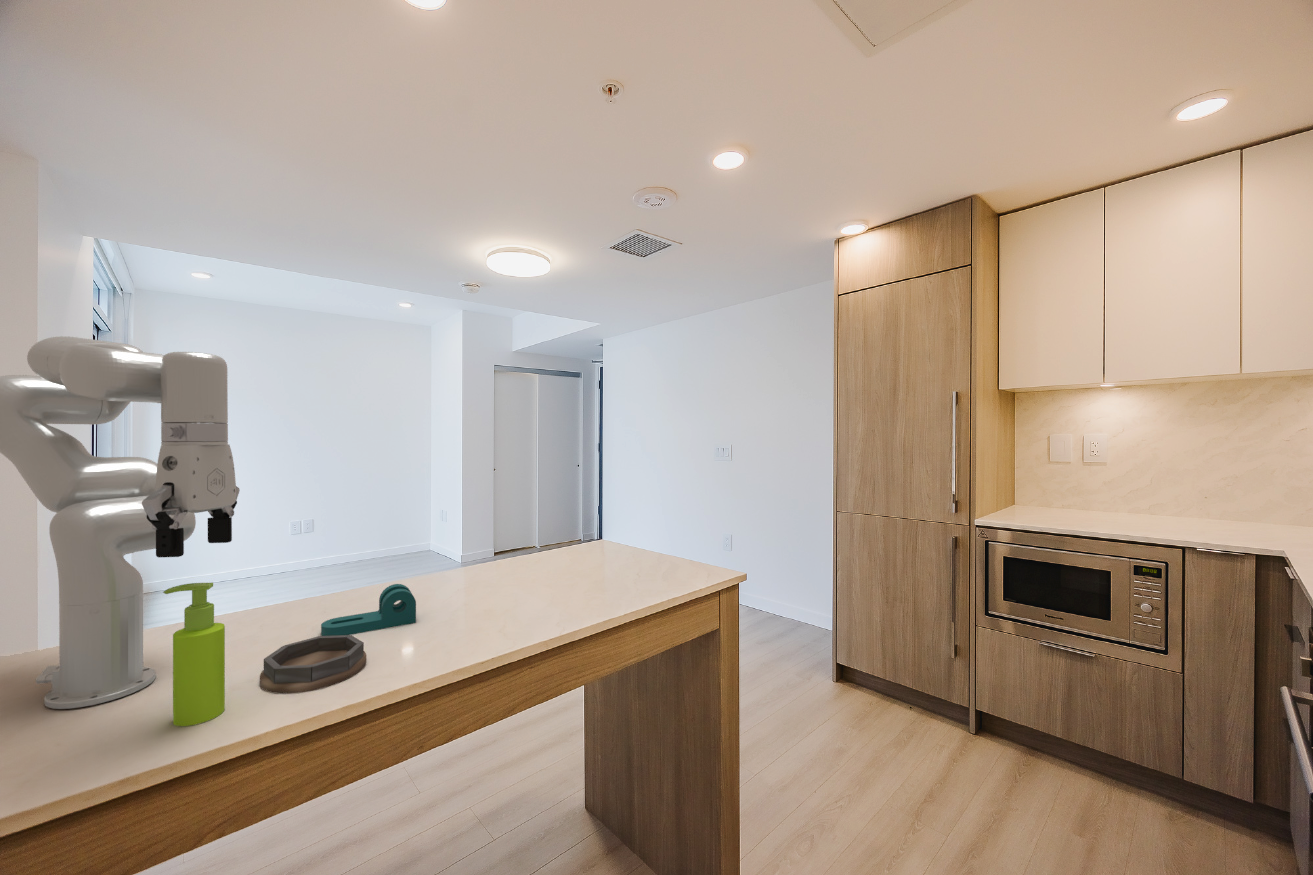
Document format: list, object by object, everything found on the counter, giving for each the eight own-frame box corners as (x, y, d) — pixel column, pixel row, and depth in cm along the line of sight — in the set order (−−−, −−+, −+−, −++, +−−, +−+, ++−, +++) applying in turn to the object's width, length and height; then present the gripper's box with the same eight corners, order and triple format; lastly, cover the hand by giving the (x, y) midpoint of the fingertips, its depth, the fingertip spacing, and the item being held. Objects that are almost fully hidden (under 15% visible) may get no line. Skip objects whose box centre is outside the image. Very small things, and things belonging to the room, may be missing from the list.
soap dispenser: (174, 711, 80) (174, 581, 80) (230, 702, 83) (230, 576, 83) (156, 731, 75) (155, 592, 74) (216, 721, 77) (216, 587, 77)
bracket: (411, 614, 123) (411, 581, 123) (415, 623, 118) (416, 589, 118) (320, 630, 113) (320, 594, 113) (321, 640, 108) (321, 602, 108)
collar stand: (236, 695, 85) (236, 672, 85) (293, 654, 101) (293, 635, 101) (341, 690, 87) (341, 668, 87) (380, 650, 102) (380, 632, 102)
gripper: (176, 435, 70) (177, 562, 70) (259, 435, 87) (260, 537, 87) (114, 435, 69) (115, 564, 69) (210, 435, 86) (211, 538, 86)
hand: (196, 549), depth 78 cm, fingers open, 9 cm apart
